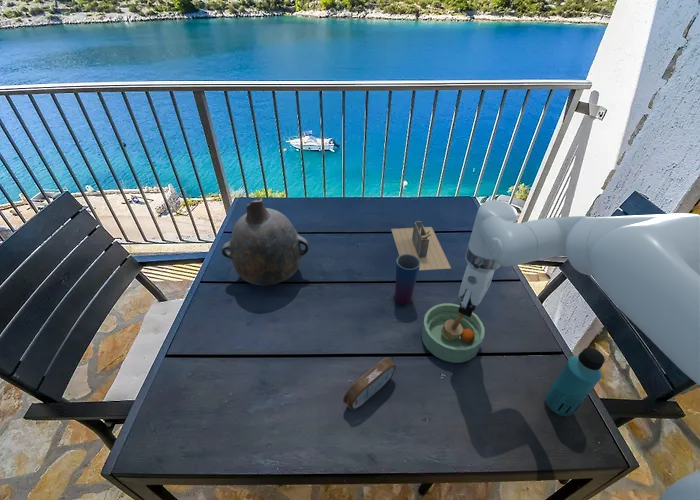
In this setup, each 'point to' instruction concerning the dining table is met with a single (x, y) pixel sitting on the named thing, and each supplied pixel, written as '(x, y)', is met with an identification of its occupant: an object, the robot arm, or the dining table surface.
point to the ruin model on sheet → (421, 246)
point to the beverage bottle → (575, 382)
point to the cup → (406, 277)
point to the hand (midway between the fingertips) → (466, 310)
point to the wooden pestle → (453, 328)
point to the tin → (369, 383)
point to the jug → (264, 246)
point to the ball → (467, 335)
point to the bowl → (445, 348)
